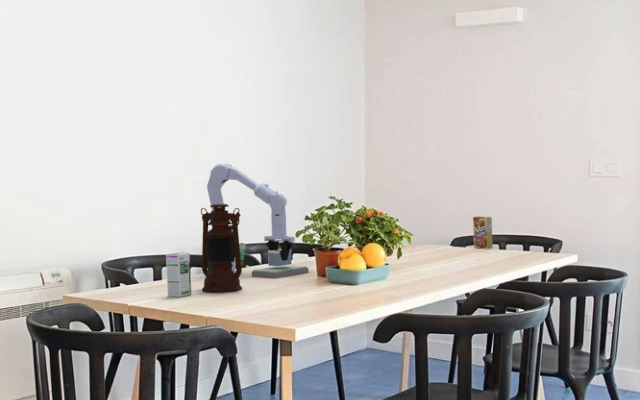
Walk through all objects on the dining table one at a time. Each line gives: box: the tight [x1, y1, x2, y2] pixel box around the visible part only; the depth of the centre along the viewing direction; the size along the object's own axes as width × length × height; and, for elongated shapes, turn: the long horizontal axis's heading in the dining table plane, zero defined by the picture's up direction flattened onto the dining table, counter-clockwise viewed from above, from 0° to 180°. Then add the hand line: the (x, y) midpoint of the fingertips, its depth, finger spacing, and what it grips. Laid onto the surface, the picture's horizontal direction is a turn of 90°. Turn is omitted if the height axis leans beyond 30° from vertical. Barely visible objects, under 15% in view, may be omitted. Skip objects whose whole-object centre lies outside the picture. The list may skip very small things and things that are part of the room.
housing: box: [267, 248, 293, 267], centre depth 353 cm, size 5×8×6 cm, turn 140°
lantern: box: [200, 203, 243, 294], centre depth 313 cm, size 17×14×30 cm
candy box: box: [472, 216, 493, 250], centre depth 434 cm, size 9×4×15 cm, turn 35°
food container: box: [235, 242, 247, 270], centre depth 381 cm, size 12×6×10 cm, turn 143°
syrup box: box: [165, 251, 192, 298], centre depth 303 cm, size 6×6×14 cm
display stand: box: [251, 264, 310, 279], centre depth 353 cm, size 20×12×2 cm, turn 140°
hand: (279, 260), depth 353 cm, fingers closed on housing, 5 cm apart
